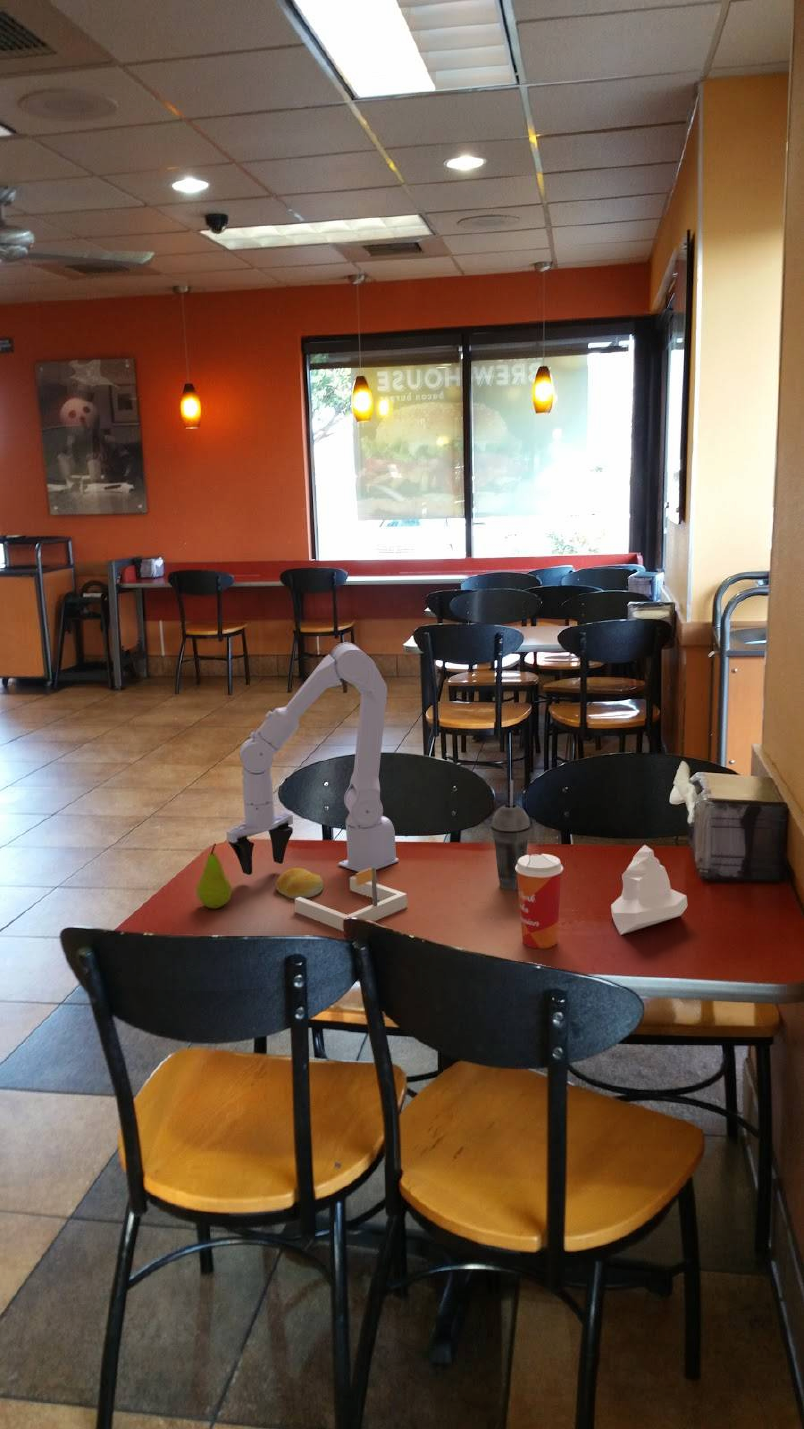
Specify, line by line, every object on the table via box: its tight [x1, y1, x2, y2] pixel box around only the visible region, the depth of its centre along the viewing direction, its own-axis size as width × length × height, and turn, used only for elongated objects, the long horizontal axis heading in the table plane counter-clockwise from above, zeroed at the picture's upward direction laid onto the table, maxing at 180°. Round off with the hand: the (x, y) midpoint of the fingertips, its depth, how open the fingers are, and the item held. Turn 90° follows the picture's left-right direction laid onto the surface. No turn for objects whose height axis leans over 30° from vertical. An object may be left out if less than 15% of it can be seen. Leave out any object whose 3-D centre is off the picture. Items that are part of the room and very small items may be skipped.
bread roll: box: [275, 867, 324, 900], centre depth 200 cm, size 8×9×4 cm
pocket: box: [294, 866, 408, 932], centre depth 189 cm, size 14×14×10 cm
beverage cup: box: [490, 779, 532, 891], centre depth 196 cm, size 7×7×20 cm
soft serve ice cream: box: [610, 844, 688, 936], centre depth 179 cm, size 12×15×14 cm
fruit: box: [196, 842, 232, 909], centre depth 193 cm, size 6×6×12 cm
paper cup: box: [515, 853, 564, 950], centre depth 173 cm, size 8×8×14 cm
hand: (263, 867), depth 207 cm, fingers open, 7 cm apart
